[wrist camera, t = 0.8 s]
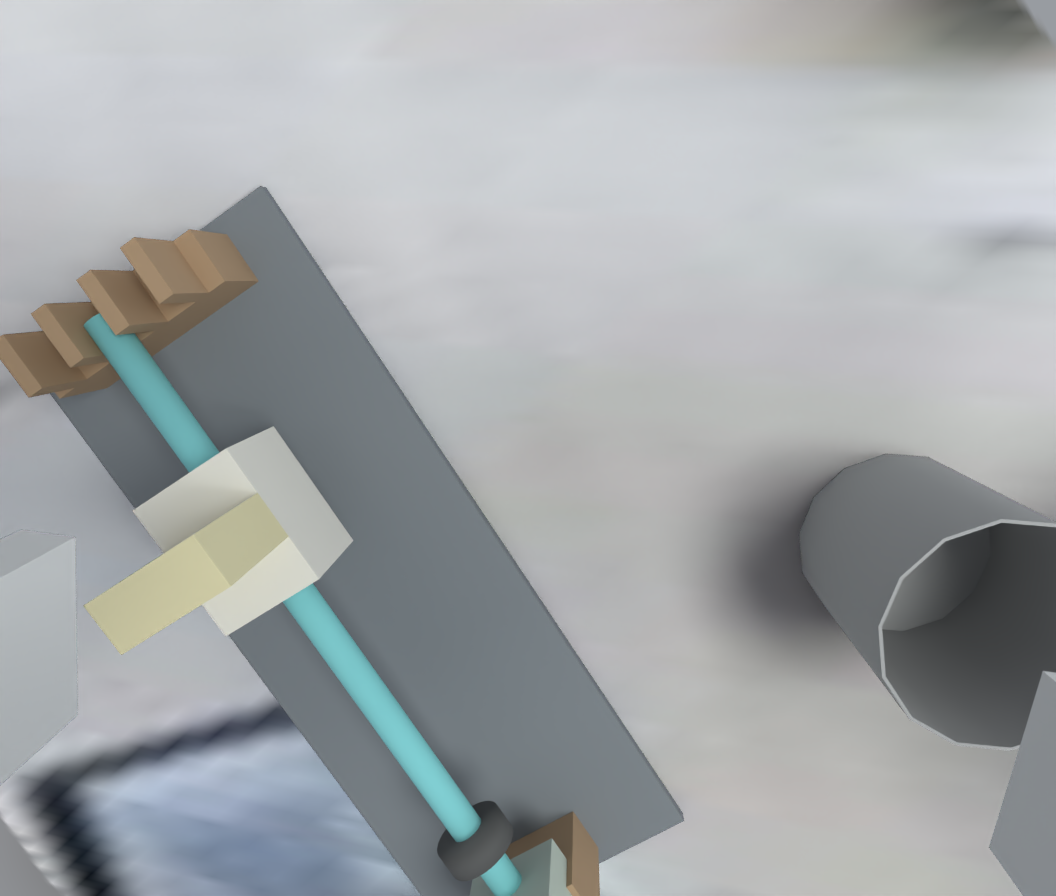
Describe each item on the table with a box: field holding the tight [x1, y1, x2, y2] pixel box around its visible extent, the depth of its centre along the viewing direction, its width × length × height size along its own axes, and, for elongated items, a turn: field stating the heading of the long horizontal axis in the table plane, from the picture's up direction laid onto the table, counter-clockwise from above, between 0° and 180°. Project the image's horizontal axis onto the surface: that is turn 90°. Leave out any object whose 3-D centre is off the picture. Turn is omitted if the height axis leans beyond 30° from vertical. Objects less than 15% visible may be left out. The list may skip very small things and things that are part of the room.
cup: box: [799, 454, 1056, 751], centre depth 31 cm, size 8×8×10 cm
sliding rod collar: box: [84, 426, 353, 655], centre depth 30 cm, size 6×5×10 cm
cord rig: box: [0, 186, 684, 896], centre depth 35 cm, size 36×14×7 cm, turn 33°
